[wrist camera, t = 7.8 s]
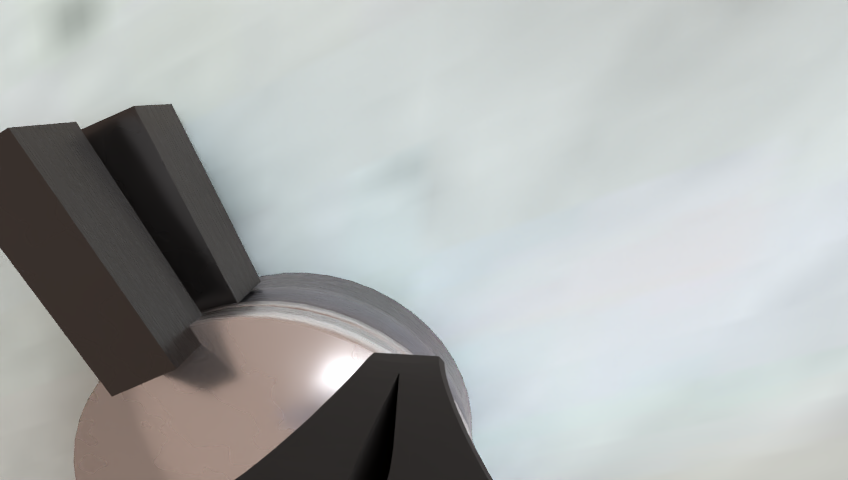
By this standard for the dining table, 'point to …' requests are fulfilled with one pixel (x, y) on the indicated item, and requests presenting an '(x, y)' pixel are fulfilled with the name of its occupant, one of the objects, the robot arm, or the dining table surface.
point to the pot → (236, 240)
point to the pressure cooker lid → (157, 328)
